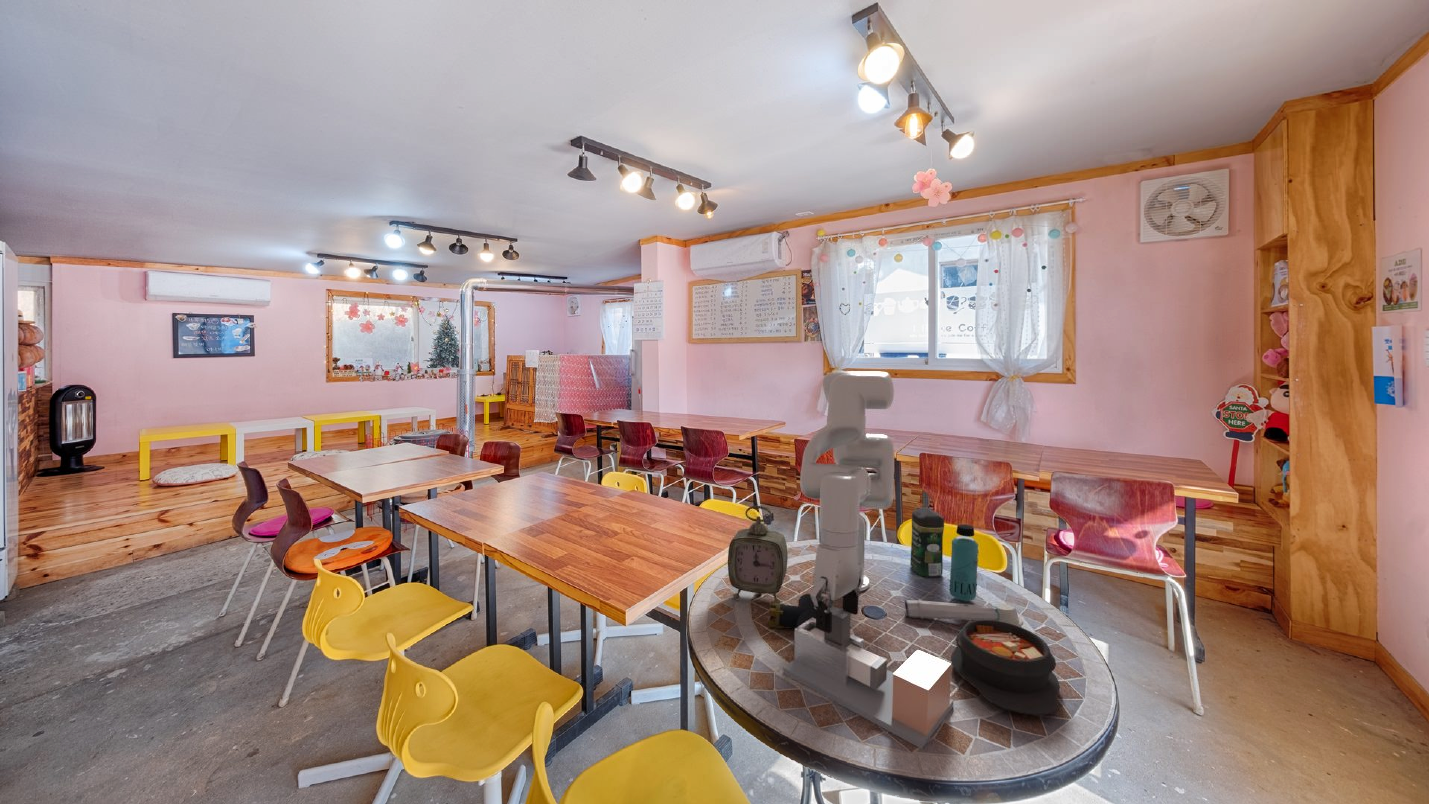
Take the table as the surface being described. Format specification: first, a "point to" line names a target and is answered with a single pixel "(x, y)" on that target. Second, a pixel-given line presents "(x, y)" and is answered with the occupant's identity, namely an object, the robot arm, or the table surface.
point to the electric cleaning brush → (962, 611)
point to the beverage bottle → (964, 564)
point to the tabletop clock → (757, 558)
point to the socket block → (921, 691)
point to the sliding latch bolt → (855, 651)
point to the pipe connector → (791, 613)
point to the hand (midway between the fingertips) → (837, 620)
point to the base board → (862, 700)
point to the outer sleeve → (823, 653)
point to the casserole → (1007, 666)
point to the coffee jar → (927, 542)
